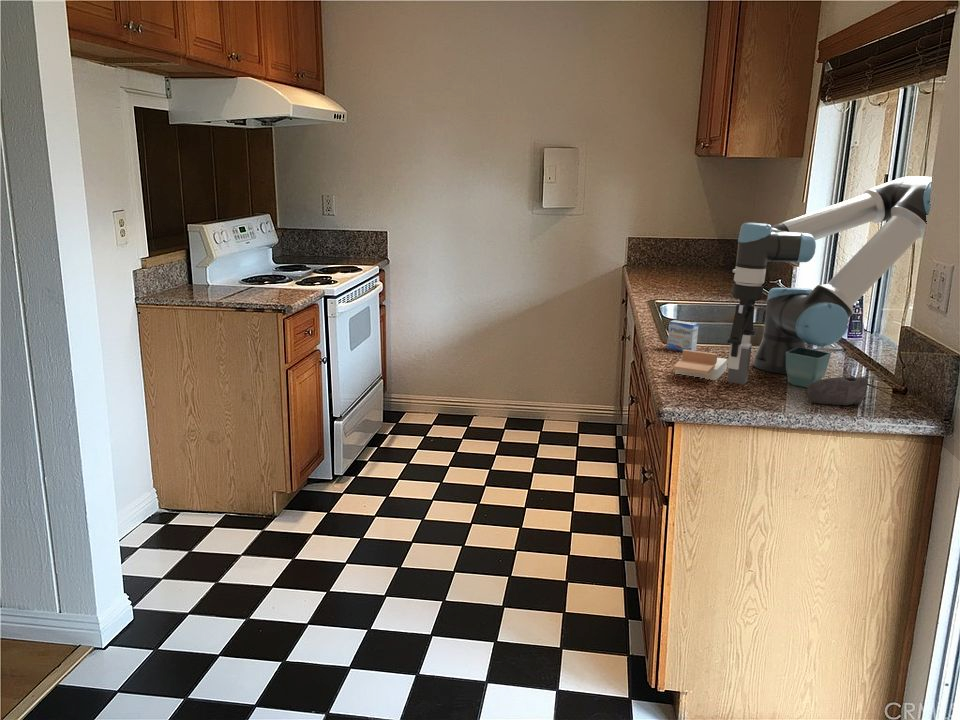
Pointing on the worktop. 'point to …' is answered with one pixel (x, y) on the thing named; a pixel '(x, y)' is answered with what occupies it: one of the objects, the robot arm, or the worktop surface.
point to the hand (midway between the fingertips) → (737, 363)
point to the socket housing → (712, 375)
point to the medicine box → (682, 335)
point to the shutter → (696, 361)
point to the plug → (741, 366)
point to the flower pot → (806, 366)
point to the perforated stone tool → (838, 391)
